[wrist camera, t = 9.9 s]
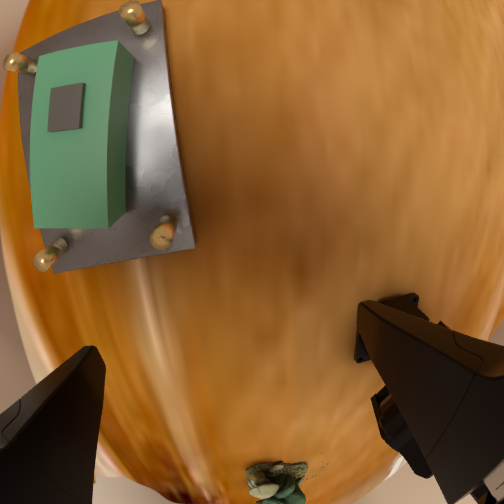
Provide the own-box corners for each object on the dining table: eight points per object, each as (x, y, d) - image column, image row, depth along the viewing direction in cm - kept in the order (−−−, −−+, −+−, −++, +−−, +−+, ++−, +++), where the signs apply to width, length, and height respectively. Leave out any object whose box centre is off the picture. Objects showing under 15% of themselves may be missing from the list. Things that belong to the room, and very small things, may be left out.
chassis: (196, 240, 20) (192, 267, 16) (62, 265, 19) (36, 292, 15) (164, 8, 14) (153, -22, 10) (28, 57, 13) (-4, 45, 9)
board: (125, 212, 17) (106, 230, 14) (59, 213, 16) (31, 230, 13) (134, 57, 14) (116, 37, 10) (64, 66, 13) (35, 54, 9)
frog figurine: (206, 449, 30) (212, 529, 19) (343, 432, 32) (372, 499, 22) (216, 494, 36) (222, 550, 26) (318, 481, 39) (335, 532, 28)
